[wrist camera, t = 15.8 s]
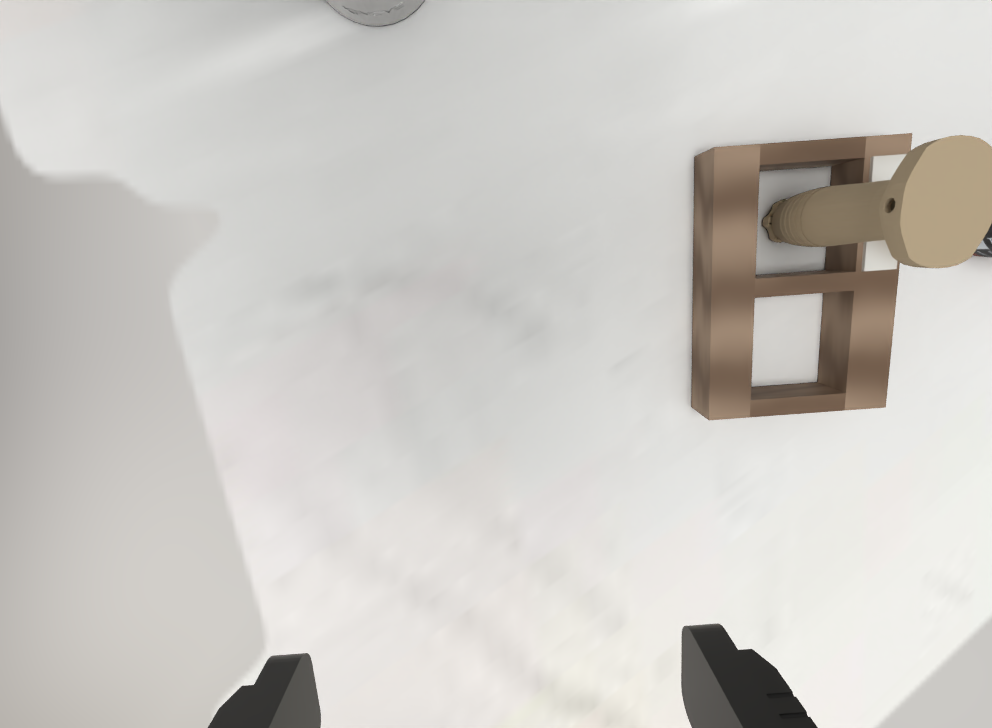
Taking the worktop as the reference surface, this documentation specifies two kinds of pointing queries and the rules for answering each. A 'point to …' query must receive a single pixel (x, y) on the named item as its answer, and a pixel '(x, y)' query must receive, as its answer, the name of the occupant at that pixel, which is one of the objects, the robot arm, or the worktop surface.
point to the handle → (901, 207)
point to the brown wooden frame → (788, 283)
